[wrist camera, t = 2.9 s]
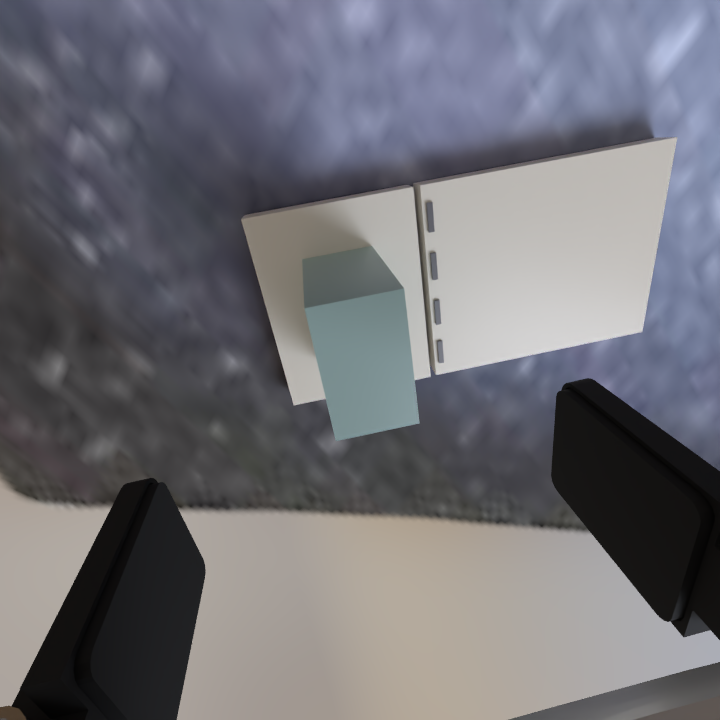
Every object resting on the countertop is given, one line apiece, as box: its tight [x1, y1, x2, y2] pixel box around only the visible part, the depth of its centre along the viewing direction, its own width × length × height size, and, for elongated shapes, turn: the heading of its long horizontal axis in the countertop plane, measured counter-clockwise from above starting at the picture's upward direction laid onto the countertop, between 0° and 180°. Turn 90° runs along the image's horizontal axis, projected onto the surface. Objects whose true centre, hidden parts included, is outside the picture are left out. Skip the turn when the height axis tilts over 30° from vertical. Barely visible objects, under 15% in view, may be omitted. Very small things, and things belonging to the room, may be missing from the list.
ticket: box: [413, 137, 677, 375], centre depth 20 cm, size 9×11×1 cm
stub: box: [241, 185, 431, 441], centre depth 17 cm, size 9×7×7 cm
